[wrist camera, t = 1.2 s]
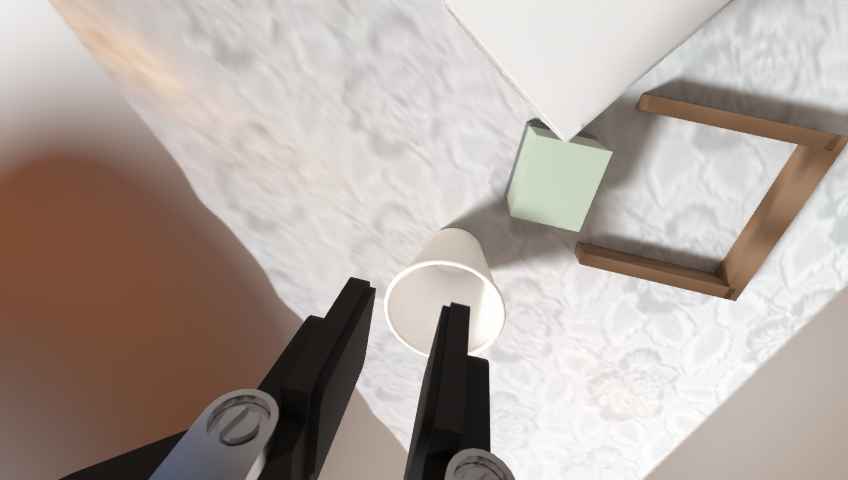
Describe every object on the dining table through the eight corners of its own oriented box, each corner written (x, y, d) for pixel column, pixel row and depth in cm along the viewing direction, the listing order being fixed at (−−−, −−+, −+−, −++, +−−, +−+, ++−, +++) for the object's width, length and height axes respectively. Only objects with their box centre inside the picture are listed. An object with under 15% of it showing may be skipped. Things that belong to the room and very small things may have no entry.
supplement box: (550, -80, 27) (635, -269, 12) (626, 20, 29) (782, -32, 14) (456, 29, 31) (429, -8, 16) (527, 111, 33) (566, 149, 18)
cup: (519, 242, 38) (532, 303, 28) (466, 306, 42) (461, 378, 32) (438, 191, 37) (422, 236, 27) (392, 262, 41) (363, 323, 31)
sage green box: (526, 121, 33) (534, 131, 28) (594, 136, 33) (616, 149, 27) (503, 195, 36) (507, 218, 31) (566, 210, 36) (580, 234, 31)
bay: (642, 93, 31) (654, 95, 28) (823, 132, 30) (850, 137, 28) (574, 252, 38) (579, 264, 35) (720, 286, 37) (735, 301, 35)
